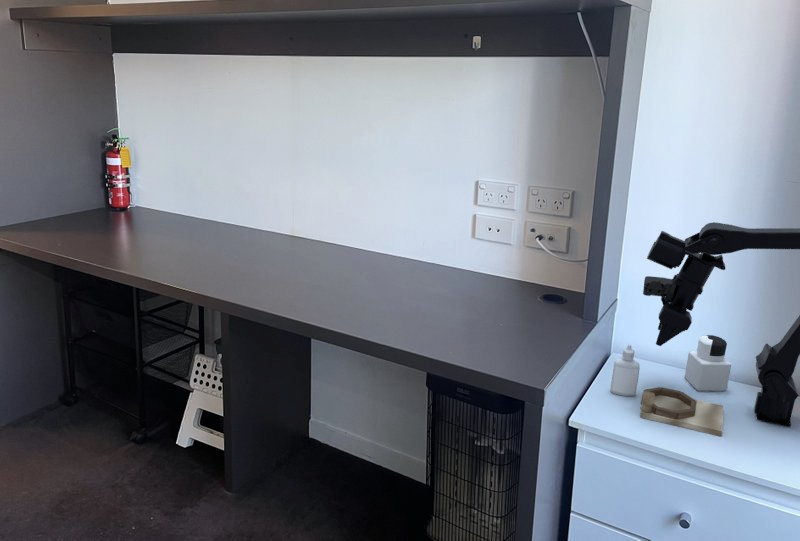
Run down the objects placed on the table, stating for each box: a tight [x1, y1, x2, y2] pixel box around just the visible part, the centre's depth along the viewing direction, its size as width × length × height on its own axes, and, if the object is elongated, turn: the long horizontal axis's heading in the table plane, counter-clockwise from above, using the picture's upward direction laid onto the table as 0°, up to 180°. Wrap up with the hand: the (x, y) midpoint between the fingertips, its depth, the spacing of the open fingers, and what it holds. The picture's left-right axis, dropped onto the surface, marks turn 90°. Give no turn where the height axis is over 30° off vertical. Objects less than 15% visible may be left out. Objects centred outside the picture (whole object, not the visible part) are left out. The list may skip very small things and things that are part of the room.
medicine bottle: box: [684, 334, 732, 392], centre depth 157 cm, size 7×7×12 cm
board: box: [639, 386, 724, 437], centre depth 145 cm, size 16×12×5 cm
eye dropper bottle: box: [610, 344, 641, 397], centre depth 152 cm, size 4×6×12 cm
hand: (658, 337), depth 150 cm, fingers open, 9 cm apart
